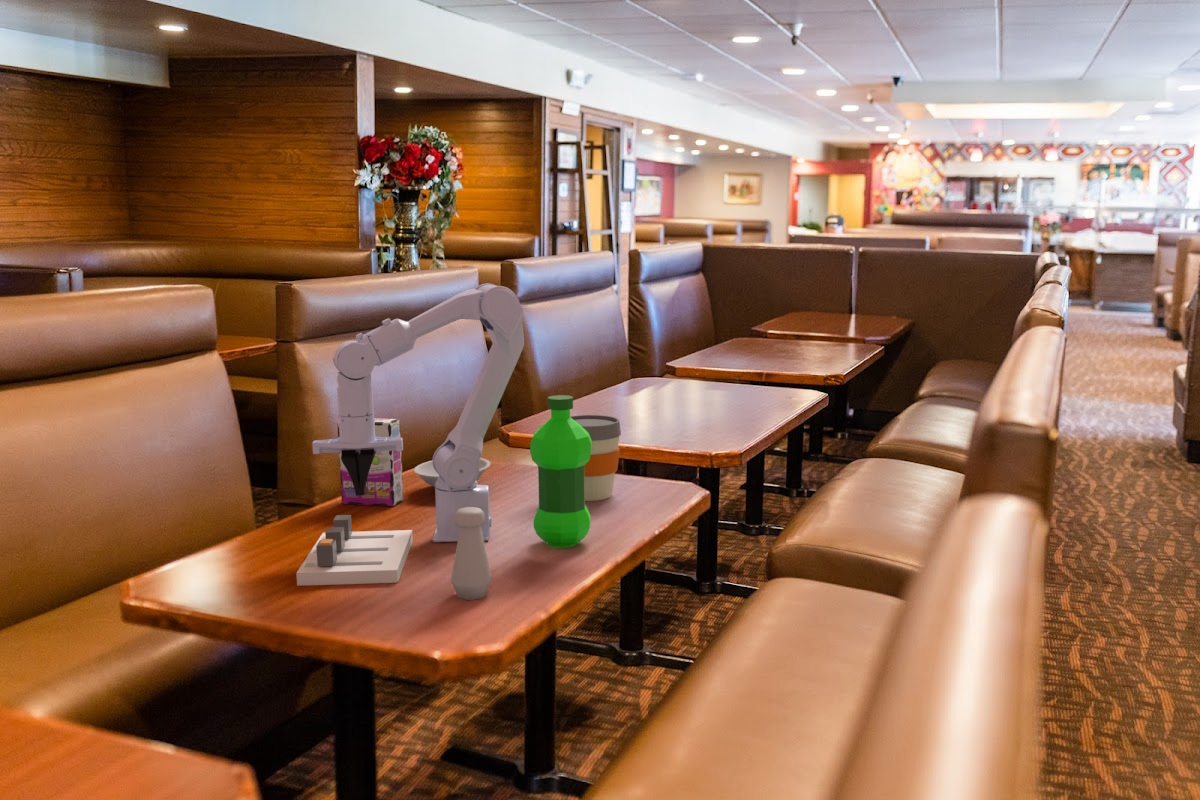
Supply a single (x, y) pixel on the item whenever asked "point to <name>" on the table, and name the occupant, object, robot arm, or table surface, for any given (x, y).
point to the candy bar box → (378, 472)
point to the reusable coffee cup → (600, 454)
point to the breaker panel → (360, 560)
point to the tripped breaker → (326, 552)
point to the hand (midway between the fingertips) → (360, 494)
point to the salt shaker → (470, 556)
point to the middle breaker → (336, 537)
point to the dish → (431, 475)
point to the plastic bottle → (561, 476)
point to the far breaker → (344, 524)
